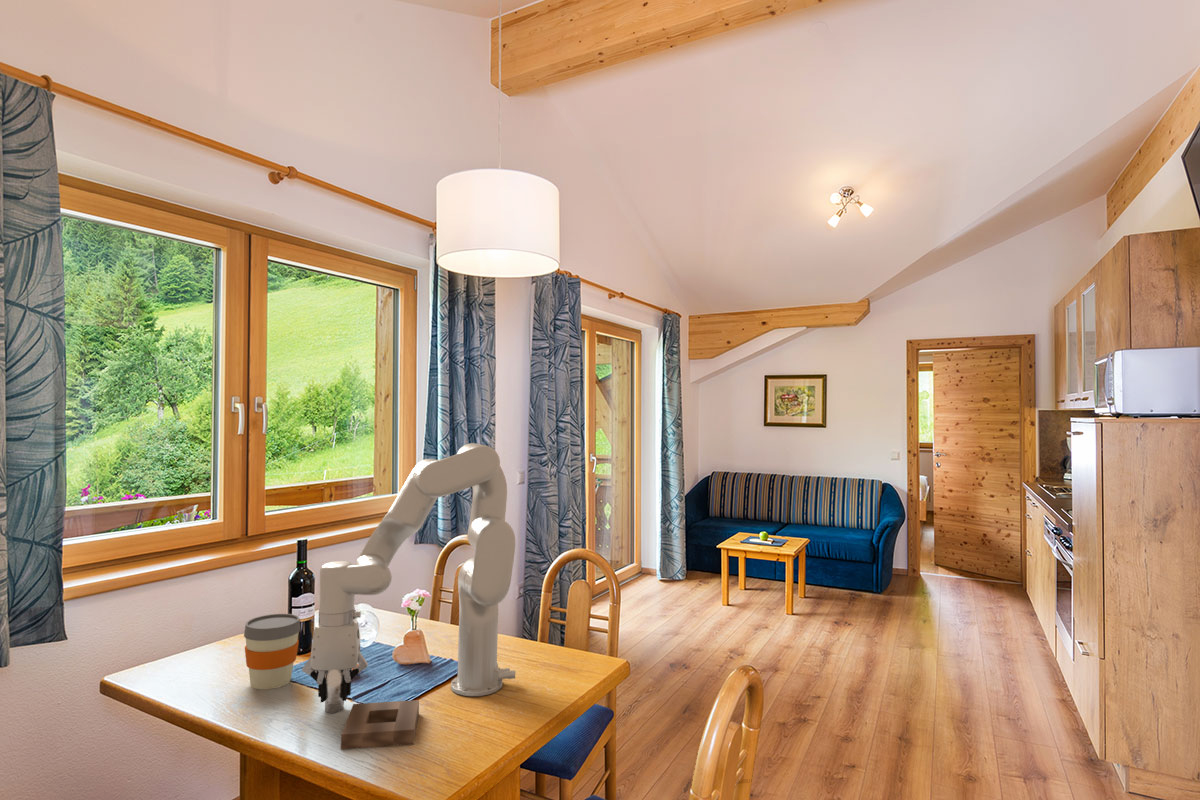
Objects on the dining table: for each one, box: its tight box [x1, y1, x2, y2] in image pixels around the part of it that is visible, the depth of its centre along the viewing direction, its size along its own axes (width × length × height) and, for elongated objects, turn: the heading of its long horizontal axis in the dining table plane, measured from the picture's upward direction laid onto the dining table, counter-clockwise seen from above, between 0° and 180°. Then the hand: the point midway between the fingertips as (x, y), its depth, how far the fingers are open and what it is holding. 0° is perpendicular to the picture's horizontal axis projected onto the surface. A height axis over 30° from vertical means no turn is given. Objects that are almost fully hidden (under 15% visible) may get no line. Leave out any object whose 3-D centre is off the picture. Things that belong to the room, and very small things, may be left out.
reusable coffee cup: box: [243, 613, 301, 691], centre depth 163 cm, size 13×13×15 cm
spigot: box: [324, 669, 345, 714], centre depth 149 cm, size 4×4×10 cm
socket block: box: [340, 699, 420, 751], centre depth 139 cm, size 14×14×3 cm
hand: (334, 698), depth 149 cm, fingers closed on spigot, 4 cm apart
